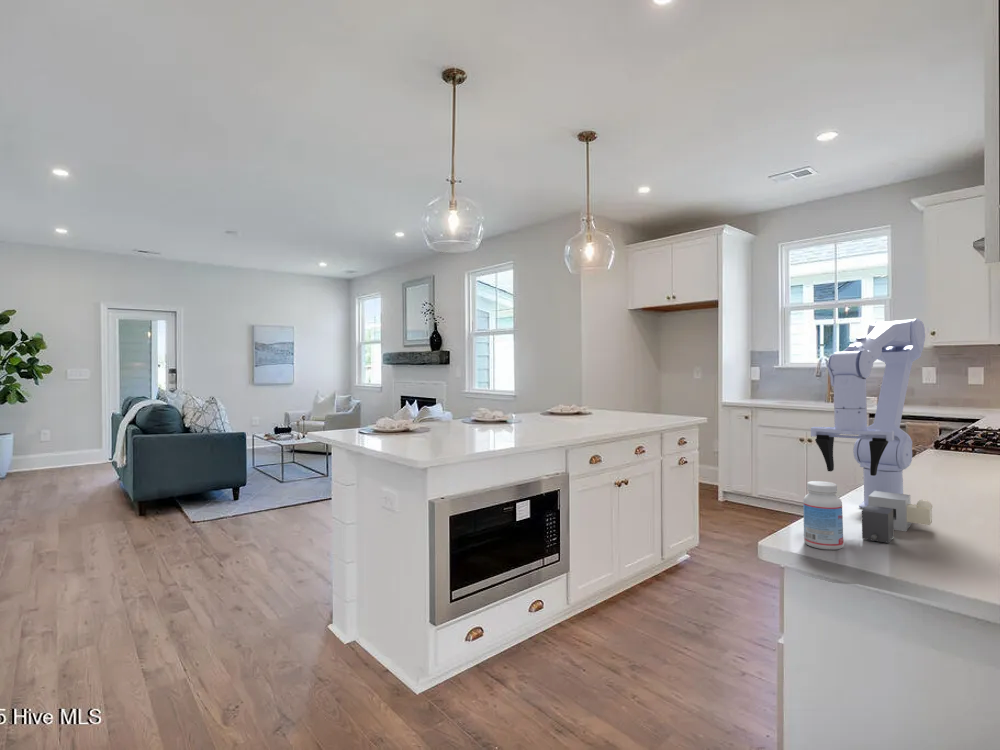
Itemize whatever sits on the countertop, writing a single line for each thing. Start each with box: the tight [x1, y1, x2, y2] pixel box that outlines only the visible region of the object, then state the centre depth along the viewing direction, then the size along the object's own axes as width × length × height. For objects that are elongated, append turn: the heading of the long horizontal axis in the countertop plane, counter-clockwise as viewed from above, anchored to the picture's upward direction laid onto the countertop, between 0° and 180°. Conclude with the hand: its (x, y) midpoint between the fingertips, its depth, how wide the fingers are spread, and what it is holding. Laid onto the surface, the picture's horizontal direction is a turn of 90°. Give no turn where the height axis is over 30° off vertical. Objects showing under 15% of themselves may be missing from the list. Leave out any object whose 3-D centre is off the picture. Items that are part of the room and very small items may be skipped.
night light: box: [907, 499, 933, 526], centre depth 104 cm, size 3×4×4 cm
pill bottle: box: [802, 480, 844, 551], centre depth 96 cm, size 6×6×11 cm
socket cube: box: [868, 491, 912, 532], centre depth 107 cm, size 6×6×6 cm
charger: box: [861, 505, 895, 544], centre depth 99 cm, size 9×4×5 cm, turn 135°
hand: (851, 472), depth 112 cm, fingers open, 7 cm apart
